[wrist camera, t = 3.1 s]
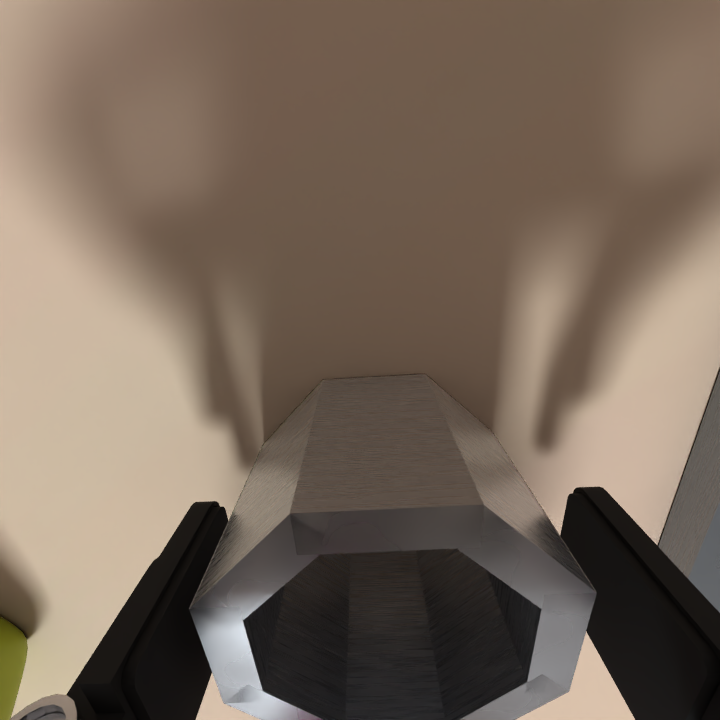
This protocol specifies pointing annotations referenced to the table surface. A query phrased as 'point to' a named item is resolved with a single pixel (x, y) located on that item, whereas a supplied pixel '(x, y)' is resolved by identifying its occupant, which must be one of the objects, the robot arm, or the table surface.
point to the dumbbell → (10, 665)
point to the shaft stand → (699, 510)
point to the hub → (389, 569)
